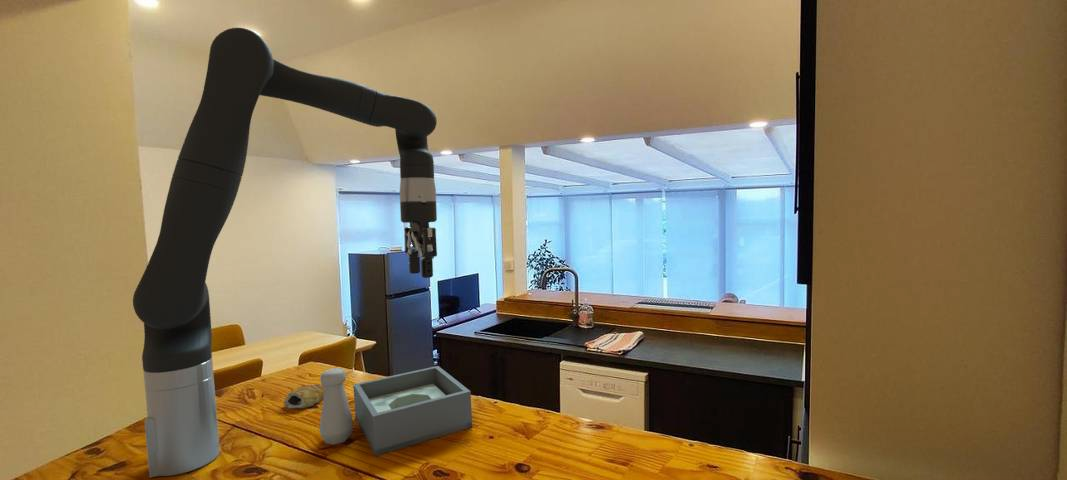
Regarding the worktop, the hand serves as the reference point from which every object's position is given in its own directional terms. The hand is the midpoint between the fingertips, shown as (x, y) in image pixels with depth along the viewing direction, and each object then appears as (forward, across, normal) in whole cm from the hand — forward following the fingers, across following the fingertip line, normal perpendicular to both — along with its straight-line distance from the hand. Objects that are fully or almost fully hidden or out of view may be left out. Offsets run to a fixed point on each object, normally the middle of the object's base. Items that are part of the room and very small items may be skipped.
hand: (420, 275), depth 98 cm
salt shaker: (+28, +6, -19) cm, 35 cm away
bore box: (+28, +8, -5) cm, 30 cm away
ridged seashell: (+29, -17, -22) cm, 40 cm away
